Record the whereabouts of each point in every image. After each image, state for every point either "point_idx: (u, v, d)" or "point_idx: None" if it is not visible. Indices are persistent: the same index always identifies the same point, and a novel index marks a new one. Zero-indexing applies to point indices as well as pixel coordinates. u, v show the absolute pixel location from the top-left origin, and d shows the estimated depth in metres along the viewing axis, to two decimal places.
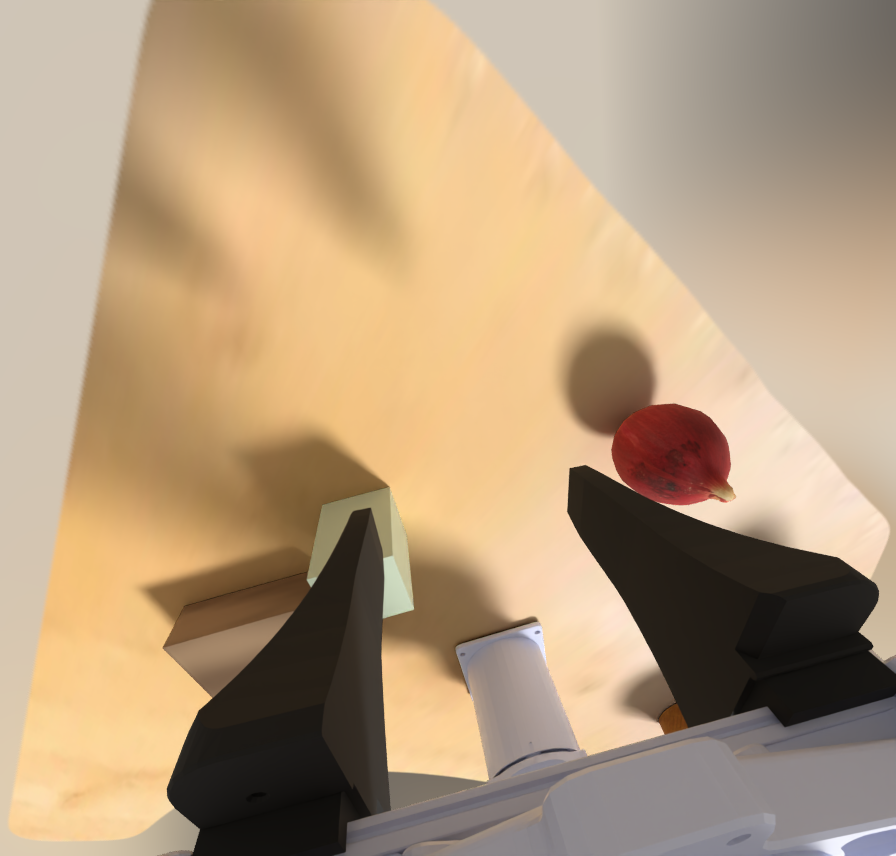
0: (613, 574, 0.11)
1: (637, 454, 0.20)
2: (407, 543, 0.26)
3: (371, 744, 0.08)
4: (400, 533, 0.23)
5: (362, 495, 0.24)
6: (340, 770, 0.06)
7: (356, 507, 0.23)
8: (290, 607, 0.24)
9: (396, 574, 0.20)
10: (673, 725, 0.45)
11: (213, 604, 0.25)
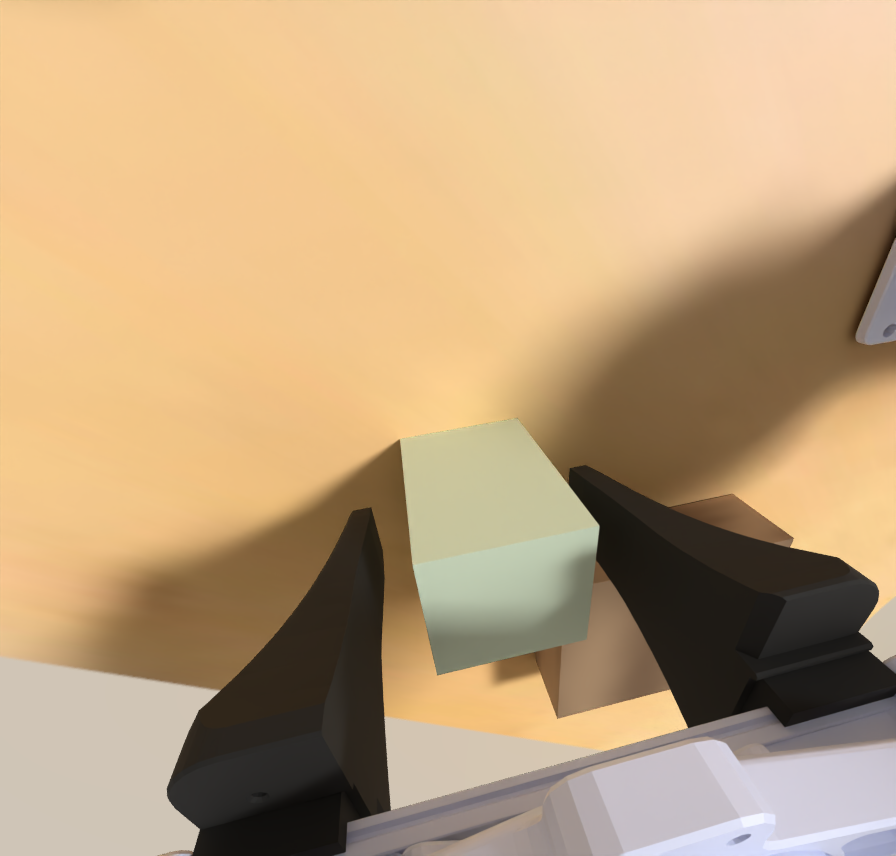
0: (613, 574, 0.11)
1: None
2: (522, 428, 0.13)
3: (371, 744, 0.08)
4: (473, 455, 0.12)
5: None
6: (340, 770, 0.06)
7: None
8: None
9: (473, 557, 0.09)
10: None
11: None
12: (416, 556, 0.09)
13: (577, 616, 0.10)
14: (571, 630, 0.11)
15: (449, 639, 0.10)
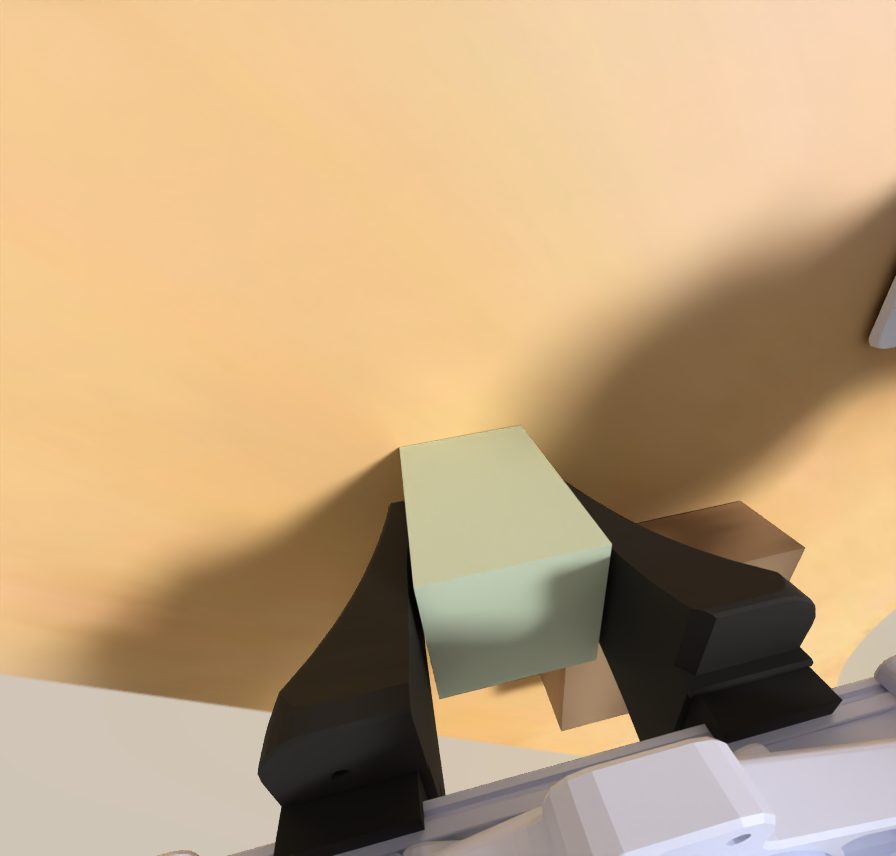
0: None
1: None
2: (527, 436, 0.13)
3: (430, 729, 0.08)
4: (476, 465, 0.12)
5: None
6: (421, 748, 0.06)
7: None
8: None
9: (478, 578, 0.08)
10: None
11: None
12: (417, 577, 0.08)
13: (586, 636, 0.10)
14: (580, 651, 0.10)
15: (452, 662, 0.09)
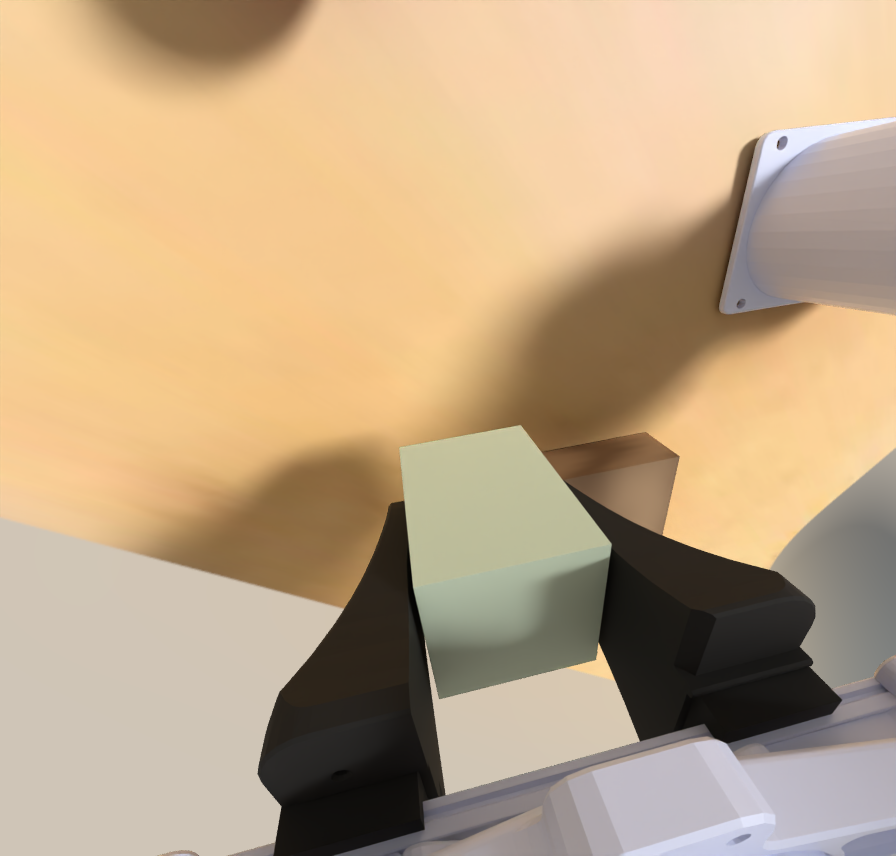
0: None
1: None
2: (527, 436, 0.13)
3: (431, 729, 0.08)
4: (476, 465, 0.12)
5: None
6: (421, 749, 0.06)
7: None
8: None
9: (477, 578, 0.08)
10: None
11: None
12: (417, 577, 0.08)
13: (586, 636, 0.10)
14: (580, 652, 0.10)
15: (452, 663, 0.09)
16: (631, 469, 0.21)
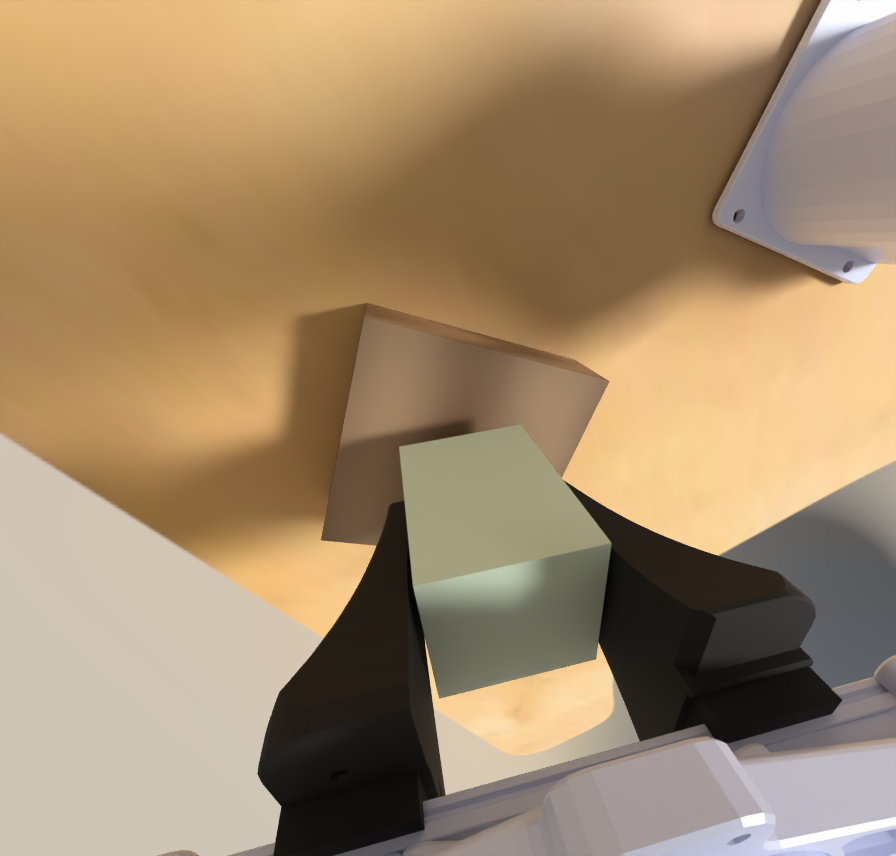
0: None
1: None
2: (526, 436, 0.13)
3: (431, 728, 0.08)
4: (475, 465, 0.12)
5: None
6: (420, 748, 0.06)
7: None
8: (354, 367, 0.13)
9: (478, 577, 0.08)
10: None
11: None
12: (417, 577, 0.08)
13: (586, 635, 0.10)
14: (580, 651, 0.10)
15: (452, 661, 0.09)
16: (545, 371, 0.14)
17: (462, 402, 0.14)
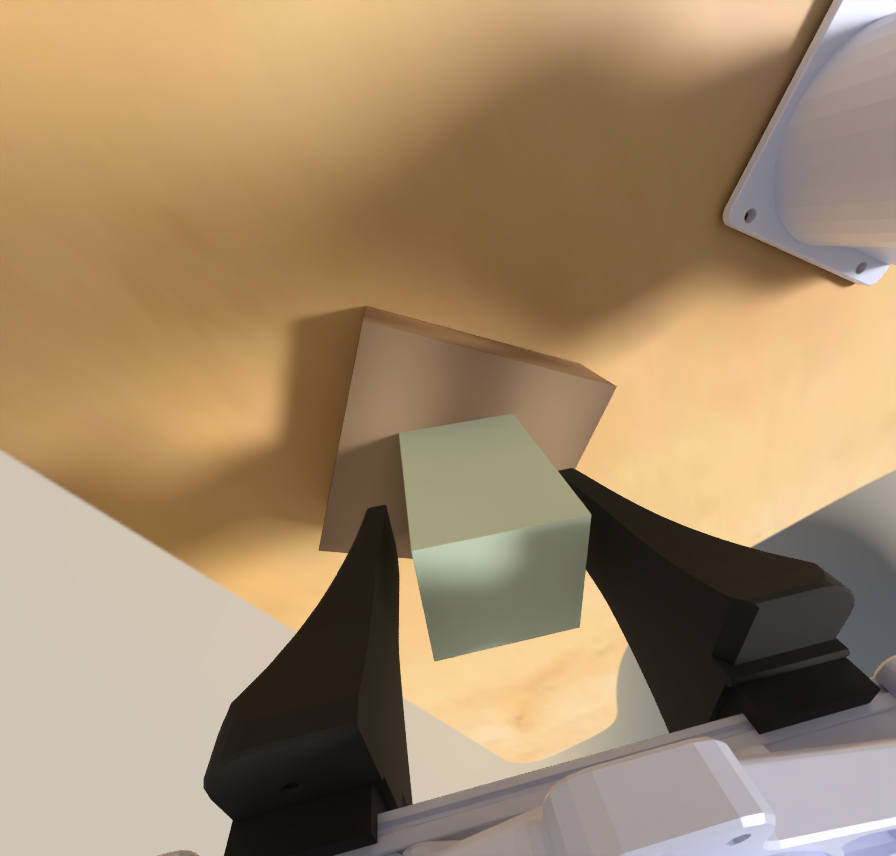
0: (598, 577, 0.11)
1: None
2: (518, 423, 0.14)
3: (395, 738, 0.08)
4: (470, 449, 0.12)
5: None
6: (372, 760, 0.06)
7: None
8: None
9: (470, 544, 0.09)
10: None
11: None
12: (415, 543, 0.09)
13: (570, 603, 0.11)
14: (565, 618, 0.11)
15: (446, 625, 0.10)
16: (550, 376, 0.14)
17: (465, 408, 0.14)
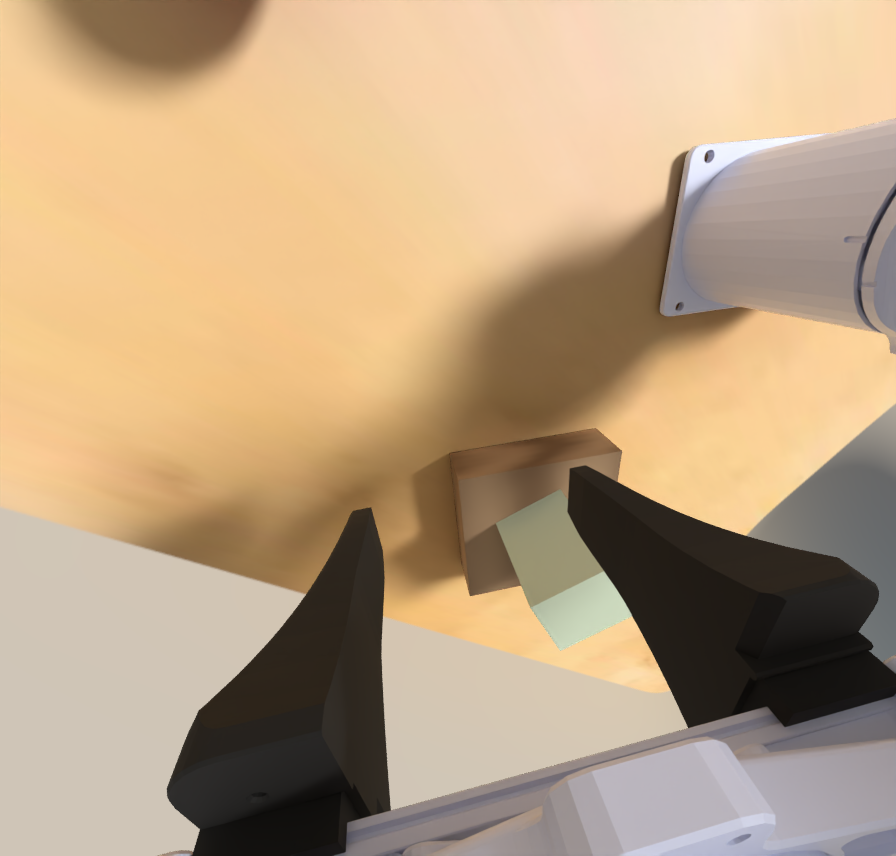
0: (613, 574, 0.11)
1: None
2: (565, 498, 0.22)
3: (371, 744, 0.08)
4: (541, 528, 0.21)
5: None
6: (340, 769, 0.06)
7: None
8: (459, 502, 0.22)
9: (557, 596, 0.18)
10: None
11: (460, 547, 0.27)
12: (530, 602, 0.18)
13: (624, 605, 0.19)
14: (625, 612, 0.19)
15: (560, 633, 0.19)
16: (576, 462, 0.22)
17: (529, 497, 0.22)
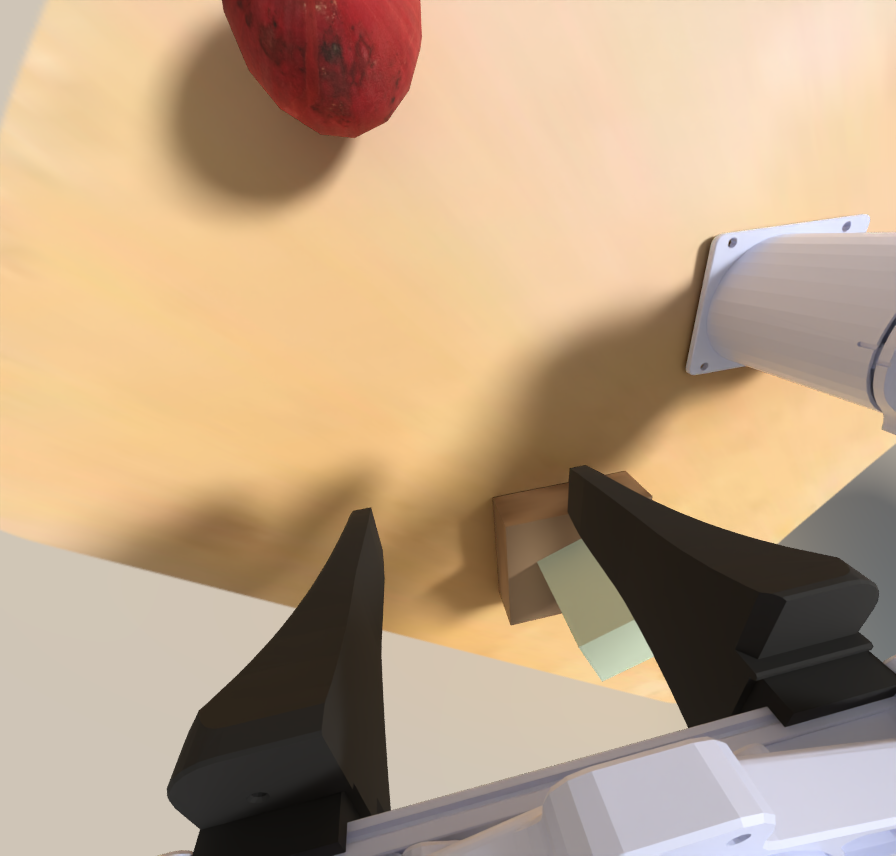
0: (613, 574, 0.11)
1: (305, 113, 0.12)
2: None
3: (371, 744, 0.08)
4: (581, 569, 0.23)
5: None
6: (340, 770, 0.06)
7: None
8: (505, 545, 0.24)
9: (603, 637, 0.20)
10: None
11: (500, 579, 0.29)
12: (578, 642, 0.20)
13: None
14: None
15: (603, 666, 0.21)
16: None
17: (568, 539, 0.25)
